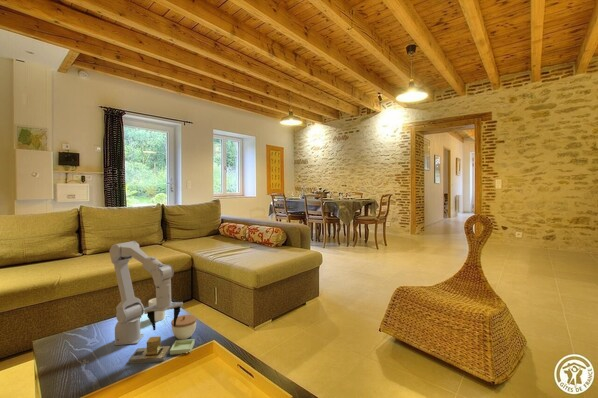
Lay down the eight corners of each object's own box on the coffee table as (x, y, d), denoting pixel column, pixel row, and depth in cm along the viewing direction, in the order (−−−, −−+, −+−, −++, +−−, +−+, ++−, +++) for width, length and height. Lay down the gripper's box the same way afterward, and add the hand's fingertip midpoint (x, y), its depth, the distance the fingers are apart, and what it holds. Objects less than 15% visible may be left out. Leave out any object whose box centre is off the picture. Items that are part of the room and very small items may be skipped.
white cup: (154, 323, 147) (153, 304, 147) (145, 320, 151) (145, 300, 151) (168, 317, 154) (168, 299, 153) (160, 314, 158) (159, 296, 158)
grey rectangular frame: (128, 363, 113) (128, 359, 113) (137, 352, 121) (137, 348, 121) (163, 360, 115) (163, 356, 115) (170, 349, 123) (170, 345, 123)
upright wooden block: (147, 359, 116) (146, 342, 116) (151, 353, 120) (150, 337, 120) (157, 358, 116) (157, 341, 116) (161, 353, 120) (160, 336, 120)
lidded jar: (180, 344, 127) (179, 323, 126) (167, 337, 133) (166, 317, 133) (201, 334, 135) (201, 314, 135) (188, 328, 142) (187, 309, 141)
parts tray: (169, 354, 119) (169, 350, 119) (175, 344, 127) (175, 340, 127) (190, 353, 120) (190, 348, 120) (194, 343, 128) (194, 338, 128)
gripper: (143, 301, 115) (144, 335, 115) (182, 295, 121) (183, 327, 121) (144, 295, 121) (145, 327, 122) (182, 290, 127) (182, 320, 128)
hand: (164, 327), depth 122 cm, fingers open, 7 cm apart
